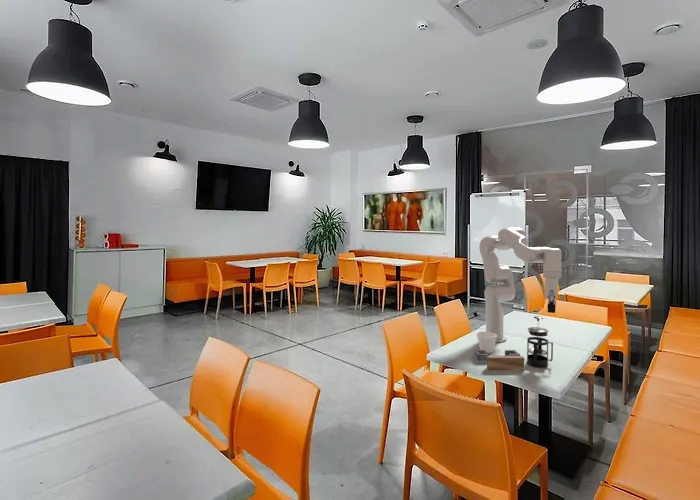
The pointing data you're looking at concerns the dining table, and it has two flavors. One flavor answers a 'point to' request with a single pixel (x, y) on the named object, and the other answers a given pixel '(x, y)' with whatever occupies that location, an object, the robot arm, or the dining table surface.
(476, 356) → the cradle
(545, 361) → the french press
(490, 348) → the cup
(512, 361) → the slat
